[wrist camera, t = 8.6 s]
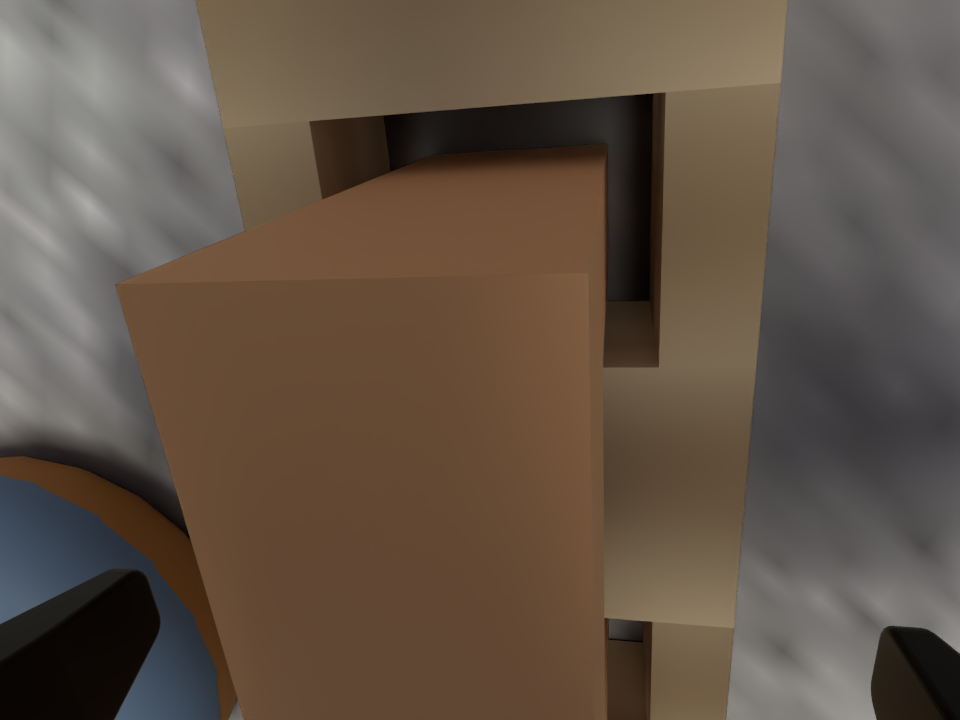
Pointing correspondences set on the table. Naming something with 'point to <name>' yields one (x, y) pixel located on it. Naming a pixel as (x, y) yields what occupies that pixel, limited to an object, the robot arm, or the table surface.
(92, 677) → the robot arm
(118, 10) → the table surface
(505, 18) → the rail
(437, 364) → the tan wooden block
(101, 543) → the doughnut
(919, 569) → the table surface
